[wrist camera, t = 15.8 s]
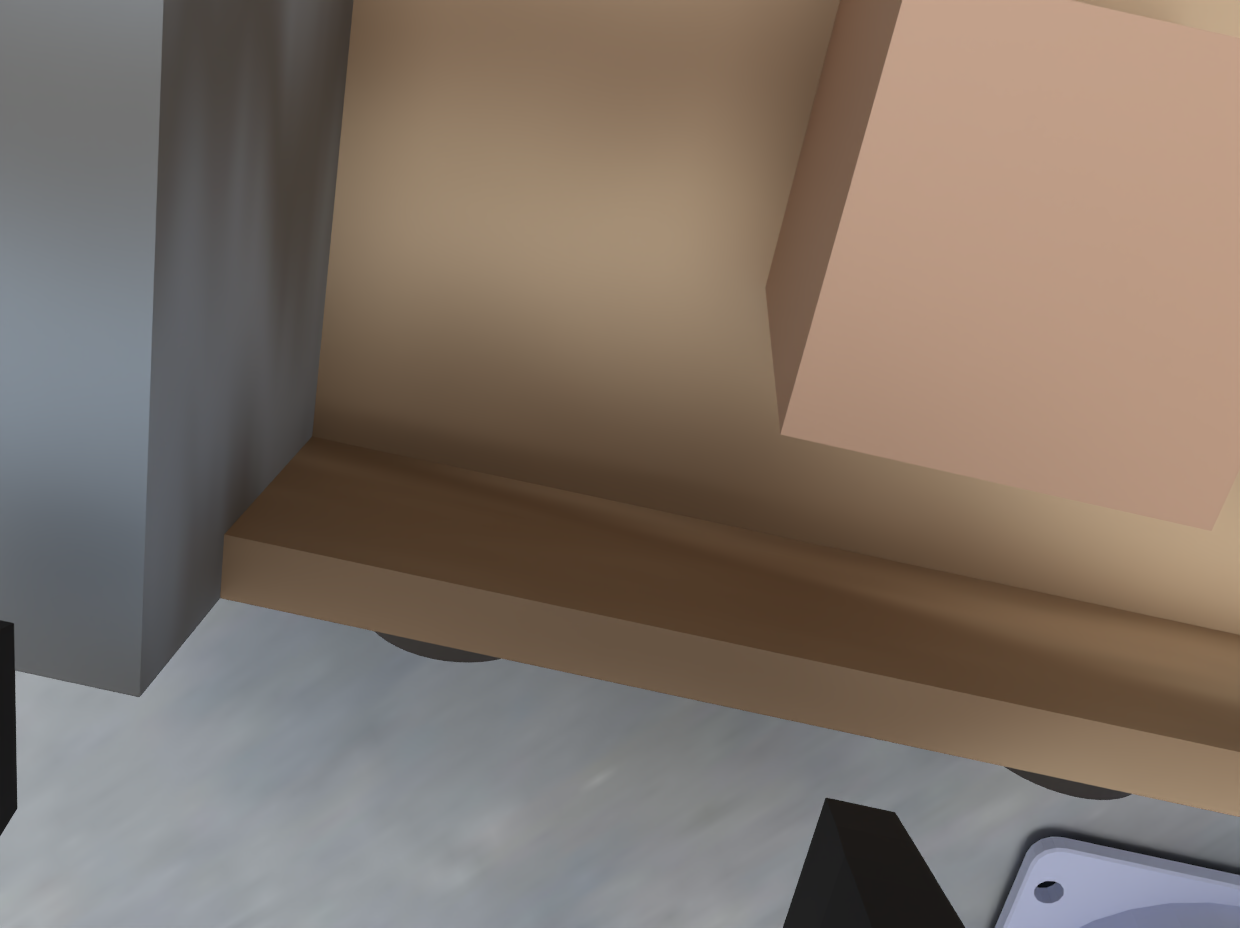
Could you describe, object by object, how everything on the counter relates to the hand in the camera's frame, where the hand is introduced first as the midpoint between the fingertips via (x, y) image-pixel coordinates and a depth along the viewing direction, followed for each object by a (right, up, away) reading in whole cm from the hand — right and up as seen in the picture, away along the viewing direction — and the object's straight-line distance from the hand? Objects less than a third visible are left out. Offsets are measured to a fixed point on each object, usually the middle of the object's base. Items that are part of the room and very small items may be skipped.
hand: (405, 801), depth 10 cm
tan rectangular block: (+7, +7, +6) cm, 12 cm away
